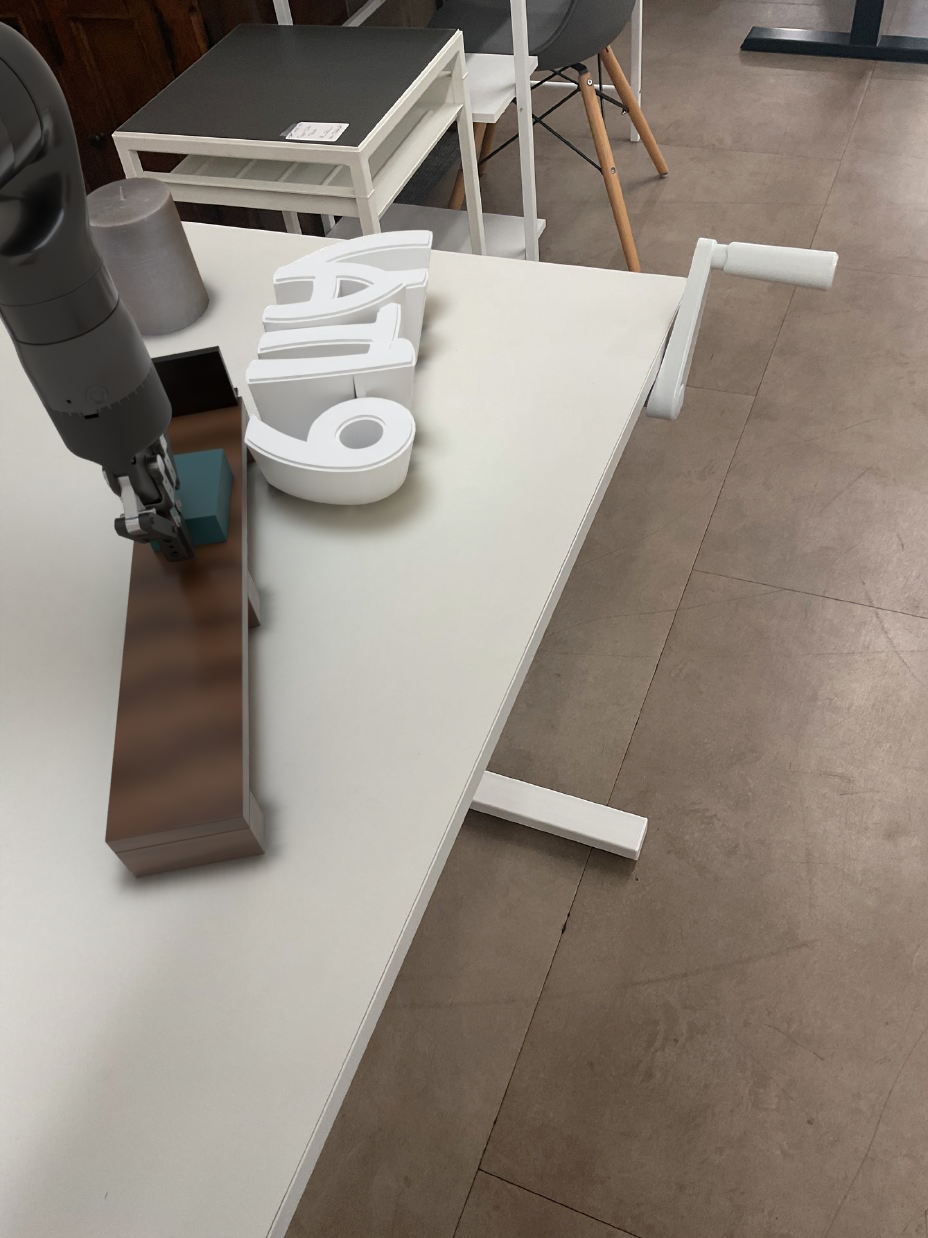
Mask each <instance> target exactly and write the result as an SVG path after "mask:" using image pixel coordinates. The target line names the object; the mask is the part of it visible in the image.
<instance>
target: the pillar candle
mask: <svg viewBox="0 0 928 1238" xmlns="http://www.w3.org/2000/svg"><path fill="white" fill-rule="evenodd" d="M86 196H87V204H88V213H89V221H90V228H91V233H92V235H93V238H94V240H95V242H96V244H97V246H98V248H99V250H100V253H101V255H102V257H103V259H104V262H105V264H106V266H107V268H108V271H109V273H110V275H111V278H112V280H113V282H114V285H115V287H116V289H117V291H118V293H119V295H120V297H121V299H122V301H123V303H124V305H125V306H126V308H127V309H128V311H129V313H130V314H131V316H132V318H133V319H134V321H135V323H136V325H137V327H138V330H139V332H140V334H141V336H150V337H152V336H153V337H155V336H163V335H168V334H172V333H175V332H179V331H181V330H184V329H186V328H187V327H190V326H191V325H192V324H194V323H196V322H197V321H198V320H199V319H200V318H201V317H202V316H204V314H205V312H206V311H207V309H208V308H209V307H208V306H209V303H210V297H209V294H208V292H207V289H206V287H205V284H204V281H203V279H202V276H201V273H200V270H199V267H198V265H197V262H196V259H195V257H194V254H193V251H192V248H191V246H190V242H189V240H188V237H187V234H186V232H185V229H184V225H183V223H182V220H181V217H180V214H179V211H178V209H177V206H176V204H175V201H174V197H173V195H172V192H171V189H170V187H169V185H168V184H167V183H166V182H164V181H162V180H160V179H157V178H154V177H145V176H142V177H139V176H138V177H137V176H136V177H129V178H124V179H119V180H116V181H111V182H110V183H108V184H105V185H102V186H100V187H98V188H96V189H95V190H93V191H92V192H90V193H88V194H87V195H86Z"/></svg>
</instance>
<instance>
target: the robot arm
mask: <svg viewBox="0 0 928 1238" xmlns="http://www.w3.org/2000/svg"><path fill="white" fill-rule="evenodd" d="M58 81H59V80H58V79H57V77H56V75H55V74H54V73H53V71H52V69H51V67H50V65H48V63H47V61H46V60H45V58H44V57H43V56H42V54H40V52H39V50H37V48H36V47H34V45H33V44H32V43H31V42H30V41H29V40H28V39H26V37H25V36H23V35H22V34H21V33H20V32H18V31H17V30H16V29H14V28H13V27H12V26H10V25H7V24H6V23H4V22H2V21H0V320H1V322H2V324H3V326H4V328H5V330H6V331H7V334H8V335H9V338H10V339H11V342H12V344H13V348H14V350H15V352H16V355H17V358H18V361H19V363H20V365H21V368H22V369H23V371H24V373H25V375H26V376H27V378H28V380H29V382H30V384H31V386H32V387H33V389H34V392H35V393H36V395H37V396H38V398H39V400H40V403H41V404H42V406H43V408H44V409H45V411H46V413H47V415H48V416H49V419H50V420H51V422H52V424H53V426H54V427H55V429H56V431H57V433H58V435H59V436H60V438H61V440H62V442H63V443H64V446H65V447H66V449H67V450H69V452H71V453H72V455H74V456H76V457H78V458H81V459H83V460H85V461H89V462H92V463H94V464H97V465H98V466H101V472H102V476H103V479H104V481H105V482H106V484H107V486H108V488H109V489H110V490H111V492H112V493H113V494H114V495H115V496H117V497H118V499H119V500H120V502H121V503H122V508H123V513H120V514H119V517H115V518H114V522H113V523H114V524H113V527H114V531H115V532H116V534H117V535H118V536H119V537H121V538H124V539H127V540H131V541H133V542H134V541H136V542H139V543H142V544H145V543H150V542H152V541H157V543H158V545H159V547H160V548H161V550H162V552H163V554H164V556H165V558H166V560H167V561H169V562H179V561H184V560H190V559H192V558H193V557H194V550H195V541H194V539H193V537H192V535H191V532H190V530H189V528H188V526H187V524H186V522H185V520H184V518H183V515H182V513H181V511H182V502H181V500H180V499H179V496H178V494H177V492H176V490H179V489H180V479H179V478H178V474H177V469H176V465H175V461H174V457H173V453H172V448H171V444H170V440H169V436H168V431H167V427H168V425H169V423H170V420H171V416H172V408H171V404H170V402H169V399H168V397H167V395H166V392H165V390H164V388H163V385H162V383H161V381H160V378H159V376H158V374H157V371H156V369H155V367H154V364H153V362H152V360H151V358H152V357H151V355H150V353H149V350H148V348H147V346H146V344H145V341H144V339H143V337H142V335H141V334H140V332H139V330H138V327H137V325H136V323H135V321H134V319H133V318H132V316H131V314H130V313H129V311H128V309H127V308H126V306H125V305H124V303H123V301H122V299H121V297H120V295H119V293H118V291H117V289H116V287H115V285H114V282H113V280H112V278H111V275H110V273H109V271H108V268H107V266H106V264H105V262H104V259H103V257H102V255H101V253H100V250H99V248H98V246H97V244H96V242H95V240H94V238H93V235H92V233H91V228H90V221H89V213H88V204H87V196H88V195H87V190H86V186H85V180H84V174H83V170H82V163H81V159H80V153H79V148H78V142H77V137H76V132H75V127H74V123H73V119H72V115H71V111H70V109H69V105H68V102H67V99H66V96H65V95H64V92H63V90H62V88H61V86H60V83H59V82H58Z"/></svg>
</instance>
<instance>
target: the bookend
mask: <svg viewBox="0 0 928 1238" xmlns="http://www.w3.org/2000/svg"><path fill="white" fill-rule="evenodd" d="M151 360H152V362H153V364H154V367H155V369H156V371H157V374H158V376H159V378H160V381H161V383H162V385H163V388H164V390H165V392H166V395H167V397H168V399H169V402H170V404H171V408H172V416H171V418H173V417H178V416H183V415H189V414H194V413H200V412H205V411H210V410H216V409H221V408H226V407H232V406H237V405H238V397H239V388H238V387H237V386H236V387H234V384H233V381H232V378H231V376H230V373H229V370H228V368H227V365H226V362H225V359H224V356H223V353H222V351H221V348H220V346H219V345H215V346H208V347H204V348H203V347H202V348H197V349H193V350H187V351H182V352H177V353H172V354H171V353H170V354H166V355H160V356H156V357H151Z"/></svg>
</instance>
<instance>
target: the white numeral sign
mask: <svg viewBox="0 0 928 1238" xmlns="http://www.w3.org/2000/svg"><path fill="white" fill-rule="evenodd" d="M433 236H434V235H433V231H432V230H431V231H430V230H428V229H427V230H426V229H425V230H424V229H412V230H409V229H408V230H393V231H386V232H385V231H384V232H378V233H372V234H368V235H362V236H358V237H354V238H351V239H350V238H349V239H346V240H342V241H339V242H336V243H333V244H330V245H327V246H325V247H322V248H320V249H317V250H315V251H313V252H310V253H308V254H306V255H304V256H302V257H299V258H298V259H296V260H294V261H292V262H291V263H289V264H287V265H281V266H279V267H278V268H277V270H276V271H275V272H274V273H273V276H272V284H273V288H274V294H275V300H276V304H270V305H267V306H266V307H265V309H264V310H263V313H262V317H261V318H262V319H261V321H262V326H263V330H264V333H263V334H262V336H261V337H260V339H259V341H258V344H257V351H256V354H257V358H258V359H252V360H251V362H249V364H248V366H247V368H246V370H245V381H246V383H247V386H248V389H249V391H250V393H251V397H252V399H253V402H254V404H255V407H256V410H257V412H258V415H259V417H257V416H256V415H255V414H254V413H251V415H250V416H249V418H250V420H249V423H248V426H247V429H246V434H245V443H246V445H247V447H248V449H249V450H250V452H251V454H252V456H253V457H254V459H255V461H254V462H255V463H256V465H257V466H258V469H259V470H260V471H261V473H262V474H263V477H264V478H265V480H266V482H267V483H268V484H270V485H271V486H273V488H276V489H277V490H280V491H281V492H284V493H285V494H288V495H290V496H293V497H295V498H299V499H302V500H305V501H310V502H315V503H319V504H320V503H321V504H326V505H327V504H329V505H340V506H341V505H342V506H359V505H360V506H361V505H367V504H373V503H376V502H379V501H381V500H384V499H386V498H389V497H390V496H391V495H393V494H394V493H396V492H397V491H398V490H399V489H400V488H401V487H402V486H403V484H404V483H405V481H406V479H407V475H408V471H409V466H410V462H411V461H410V460H411V456H412V452H413V451H412V450H413V446H414V441H415V435H416V421H415V418H414V416H413V414H412V412H413V401H414V400H413V397H414V385H415V384H414V383H415V373H416V372H415V371H416V365H417V363H418V357H419V350H420V342H421V335H422V330H423V329H422V328H423V321H424V313H425V307H426V301H427V300H426V299H427V293H428V292H427V291H428V286H429V285H428V284H429V277H430V272H429V267H430V259H431V253H432V245H433Z"/></svg>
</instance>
